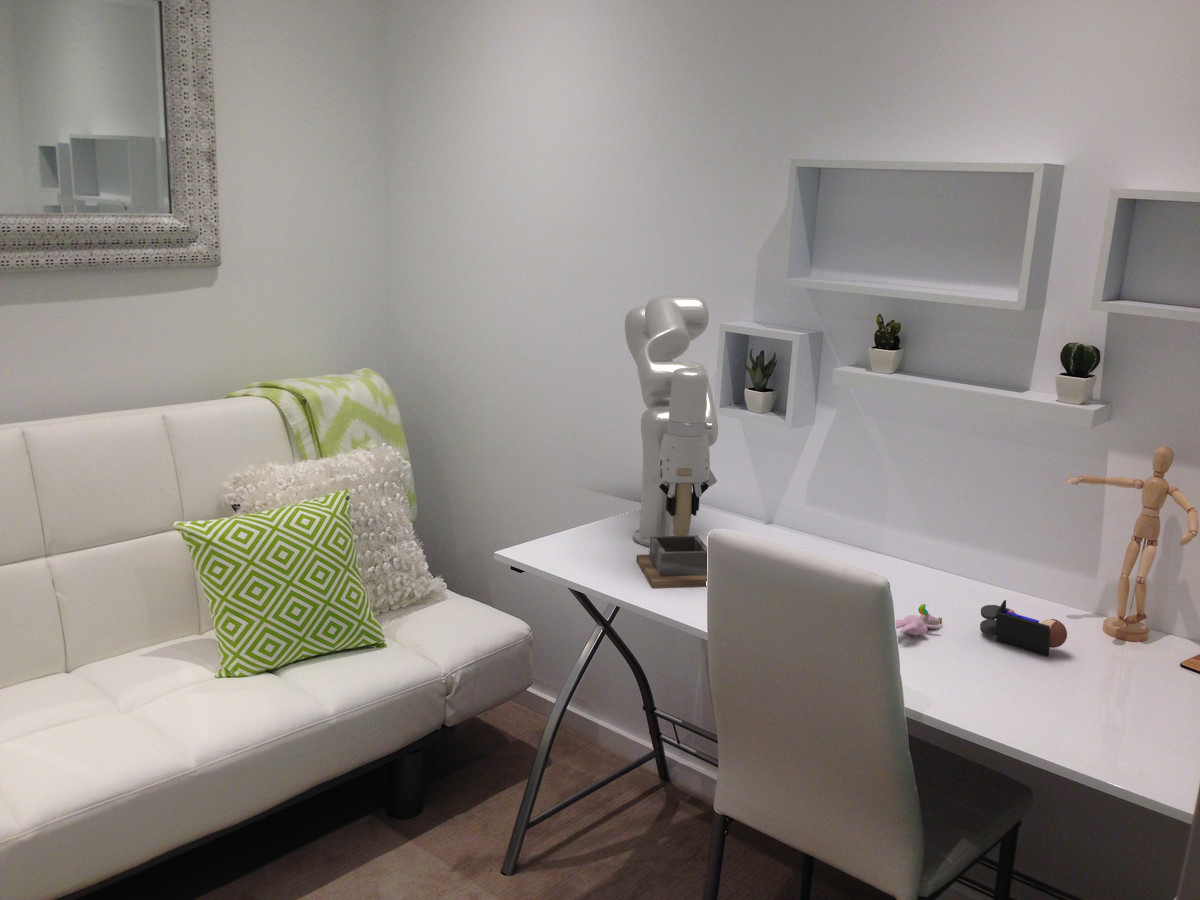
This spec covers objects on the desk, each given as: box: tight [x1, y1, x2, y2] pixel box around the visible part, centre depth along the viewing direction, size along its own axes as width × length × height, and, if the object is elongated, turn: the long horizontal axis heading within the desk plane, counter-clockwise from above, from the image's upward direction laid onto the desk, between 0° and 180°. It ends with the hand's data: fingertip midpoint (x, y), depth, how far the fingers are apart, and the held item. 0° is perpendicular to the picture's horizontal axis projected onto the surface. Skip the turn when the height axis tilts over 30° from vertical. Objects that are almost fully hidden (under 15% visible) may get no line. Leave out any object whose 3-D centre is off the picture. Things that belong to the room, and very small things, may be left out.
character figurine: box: [979, 599, 1068, 658], centre depth 190 cm, size 8×7×15 cm
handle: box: [673, 469, 693, 537], centre depth 217 cm, size 5×6×15 cm
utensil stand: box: [635, 535, 708, 589], centre depth 220 cm, size 16×15×6 cm
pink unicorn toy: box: [895, 603, 943, 637], centre depth 194 cm, size 6×6×15 cm
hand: (682, 513), depth 218 cm, fingers closed on handle, 4 cm apart
